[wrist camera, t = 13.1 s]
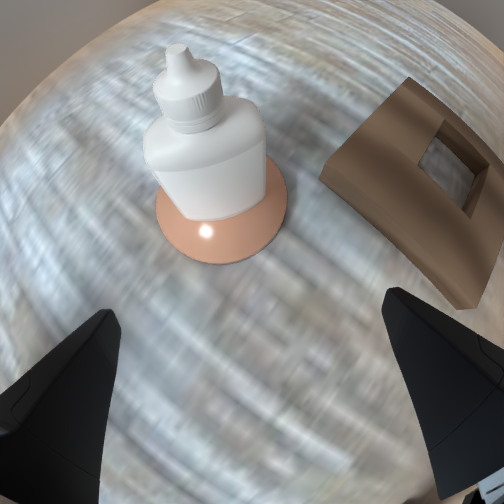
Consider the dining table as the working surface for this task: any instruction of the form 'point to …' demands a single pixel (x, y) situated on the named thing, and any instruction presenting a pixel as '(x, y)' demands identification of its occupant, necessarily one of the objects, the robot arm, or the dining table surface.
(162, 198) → the terracotta coaster
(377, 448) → the dining table surface
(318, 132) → the dining table surface
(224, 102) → the eye dropper bottle
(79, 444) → the robot arm
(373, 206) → the holder block
